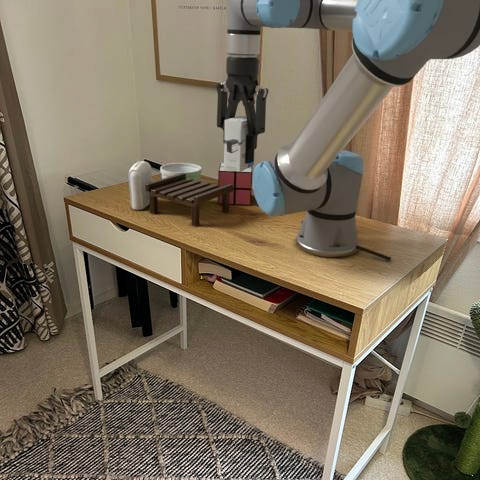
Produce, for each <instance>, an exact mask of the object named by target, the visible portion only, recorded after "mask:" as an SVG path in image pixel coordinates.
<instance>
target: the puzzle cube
mask: <svg viewBox="0 0 480 480" xmlns="http://www.w3.org/2000/svg"><path fill="white" fill-rule="evenodd" d="M217 175H218V179H217V185H219V186H218V188H219V187H221V186H225V185H228V184H233V191H232V192H230V194H229V195H230V199H229V206H230V205H233V206H234V205H236V206H251V205H252V194H253V193H252V189H253V166H251V167H249V168H247V169H245V170H243V171H241V172H237V171H231V170H226V169H224V162H220V163H219V167H218V171H217ZM217 204H218V205H222V196H219V197H217Z"/></svg>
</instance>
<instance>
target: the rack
mask: <svg viewBox="0 0 480 480" xmlns="http://www.w3.org/2000/svg"><path fill="white" fill-rule="evenodd" d="M218 186H219V185H218V184H215V183H213V184H211V183H210V182H207V181H204V182H202V181H201V180H200V181H199V180H195V181H193V179H191V178H187V179H186V173H180V174H177V175H174V176H170V177H167V178H164V179H162V178H160V179H157V180H154V181H153V180H152V182H150V183H147V184H145V187H146V191H148V192H149V198H150V204H149V211H150V214H154V215H156V214H158V213H159V199H162V200H167V201H170V202H174V203H178V204H181V205H184V206H188V207H190V209H191V210H190V212H191V213H190V214H191V215H190V216H191V226H193V227H198V226H200V223H201V222H200V221H201V220H200V219H201V217H200V216H201V215H200V214H201V213H200V209H201V208H200V205H201V204H204V203H206V202H208V201H211V200H214V199H216V198H217V199H218V197H219V196H222V204H221V213H223V214H228V213H230V204H229V199H230V195H229V194H230V192H232V191H233V184H228V185H225V186H221V187H219V188H218ZM158 198H159V199H158Z"/></svg>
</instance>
